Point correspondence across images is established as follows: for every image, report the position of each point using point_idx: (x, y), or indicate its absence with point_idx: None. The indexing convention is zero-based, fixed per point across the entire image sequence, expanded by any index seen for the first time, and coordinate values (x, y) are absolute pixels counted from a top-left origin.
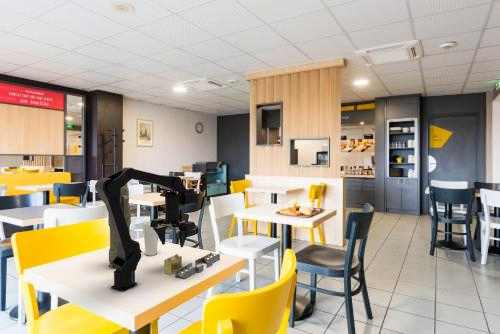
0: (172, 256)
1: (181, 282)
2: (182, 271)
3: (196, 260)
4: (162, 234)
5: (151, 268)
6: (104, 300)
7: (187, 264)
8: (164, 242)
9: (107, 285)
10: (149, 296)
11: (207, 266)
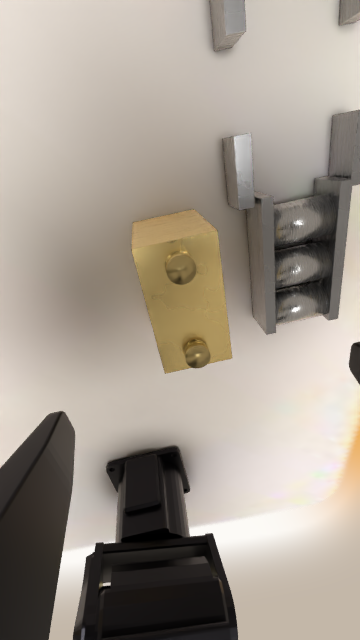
0: (146, 288)
1: (323, 333)
2: (307, 309)
3: (240, 27)
4: (16, 617)
5: (17, 324)
6: (194, 522)
7: (239, 184)
8: (60, 436)
9: (89, 500)
10: (290, 453)
11: (352, 20)
